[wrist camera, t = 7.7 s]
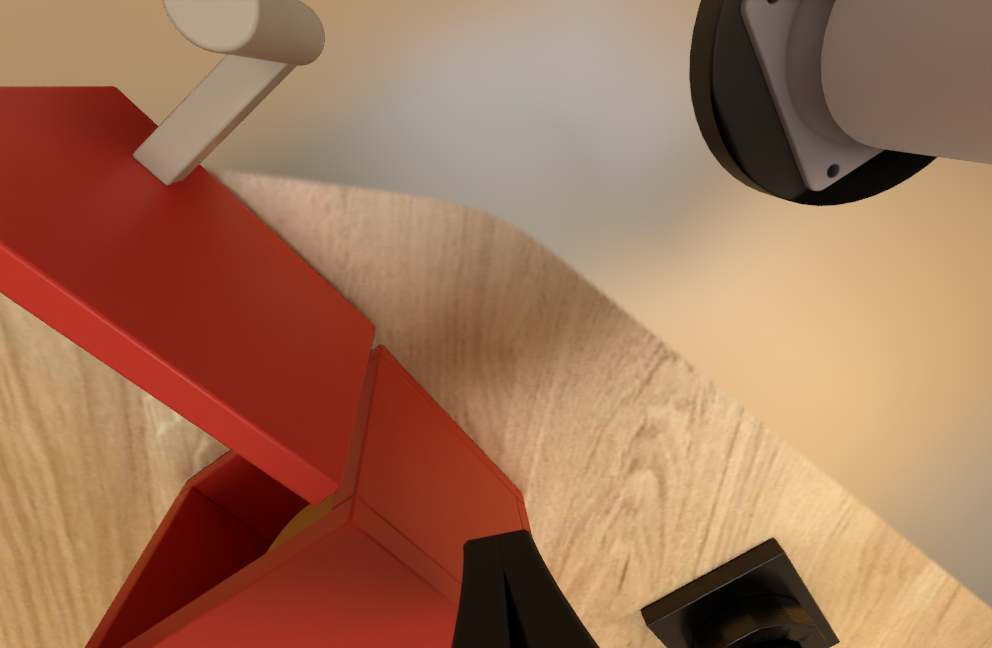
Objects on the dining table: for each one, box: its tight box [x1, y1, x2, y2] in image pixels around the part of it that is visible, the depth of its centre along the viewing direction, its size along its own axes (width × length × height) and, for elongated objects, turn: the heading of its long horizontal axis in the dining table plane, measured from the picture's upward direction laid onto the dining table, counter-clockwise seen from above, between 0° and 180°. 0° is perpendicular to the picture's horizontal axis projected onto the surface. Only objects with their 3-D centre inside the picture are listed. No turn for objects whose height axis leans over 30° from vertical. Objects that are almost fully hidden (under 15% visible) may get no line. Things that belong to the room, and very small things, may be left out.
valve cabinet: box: [85, 346, 532, 648], centre depth 17 cm, size 10×10×8 cm
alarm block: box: [641, 539, 840, 648], centre depth 27 cm, size 8×10×2 cm
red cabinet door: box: [0, 0, 375, 506], centre depth 12 cm, size 6×10×8 cm, turn 39°
